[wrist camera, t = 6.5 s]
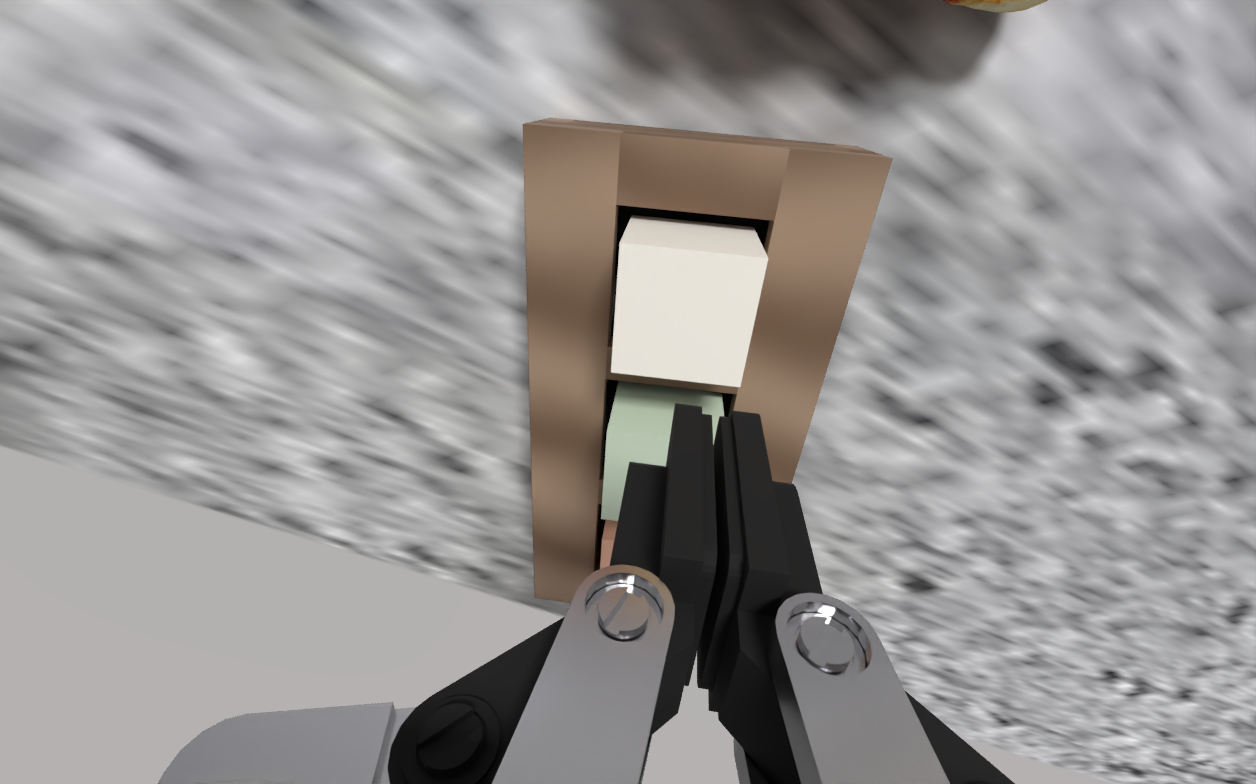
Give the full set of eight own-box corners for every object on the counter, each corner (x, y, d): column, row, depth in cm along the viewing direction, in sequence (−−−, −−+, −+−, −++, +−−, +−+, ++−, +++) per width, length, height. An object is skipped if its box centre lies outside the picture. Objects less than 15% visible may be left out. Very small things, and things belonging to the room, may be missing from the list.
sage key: (619, 379, 23) (606, 430, 19) (721, 391, 22) (727, 445, 19) (612, 459, 25) (600, 518, 22) (705, 471, 25) (708, 532, 21)
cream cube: (631, 215, 19) (619, 242, 16) (753, 227, 19) (768, 258, 15) (623, 326, 21) (610, 372, 18) (731, 338, 21) (740, 387, 18)
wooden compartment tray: (550, 117, 20) (522, 123, 17) (857, 146, 20) (892, 158, 16) (550, 544, 33) (534, 597, 29) (740, 569, 32) (746, 627, 29)
